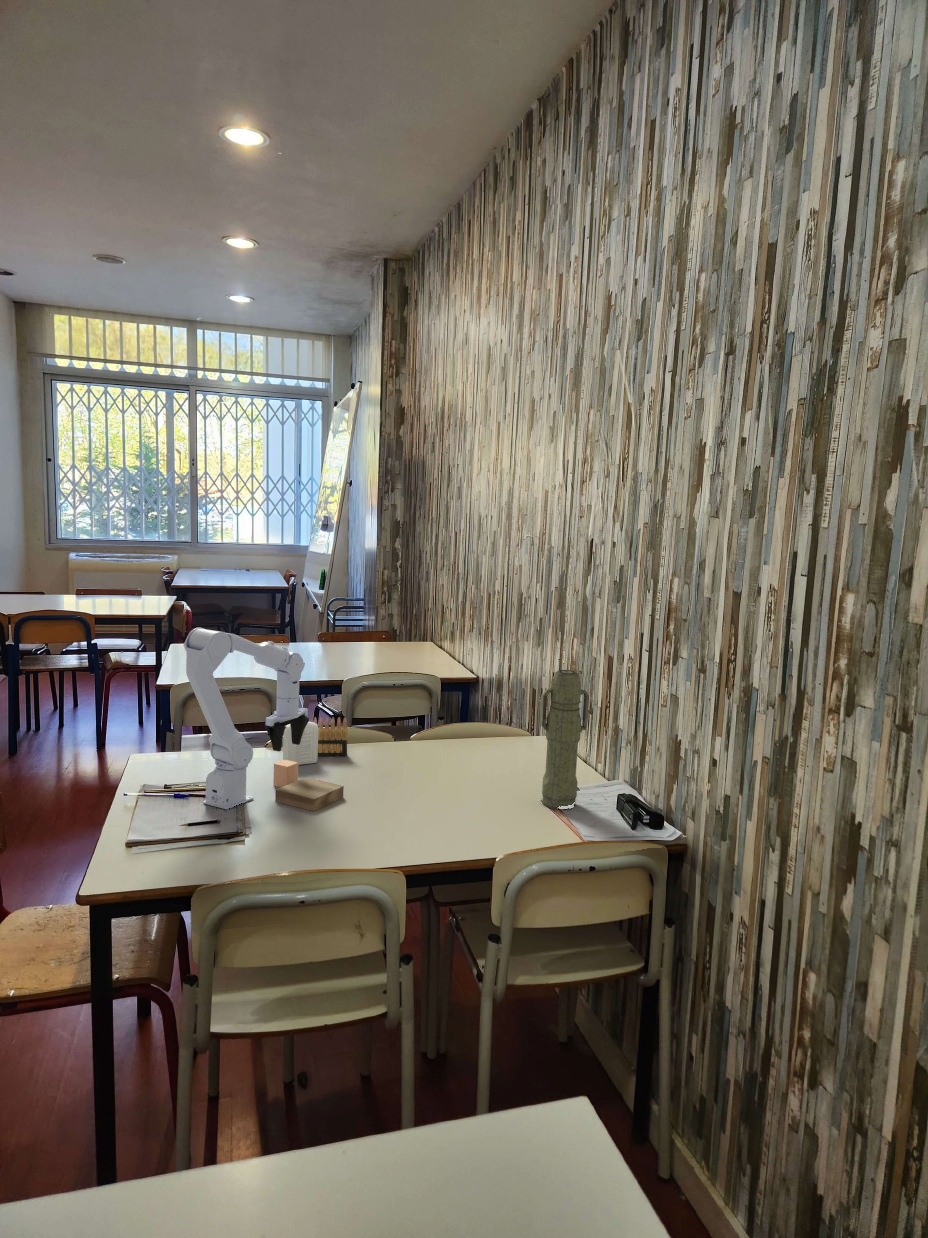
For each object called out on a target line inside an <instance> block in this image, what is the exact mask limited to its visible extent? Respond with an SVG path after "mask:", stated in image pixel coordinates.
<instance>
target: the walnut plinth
mask: <svg viewBox="0 0 928 1238" xmlns="http://www.w3.org/2000/svg"><path fill="white" fill-rule="evenodd" d="M274 793H275V797H274V800H275V802H276V803H277V802H278V803H281V804H285V805H289V806H292V807H297V808H299V809H305V810H308V811H310V812H311V811H312V812H316V811H317V810H319V809H321V808H324V807H325V806H328V805H330V804H332V803H334V802H336V801H338V800H340V799H342V798H344V785H341V784H337V783H333V782H328V781H323V780H320V779H315V778H312V777H307V776H306V777H304V778H301V779H298V781H296V782H293V783H291V784H288V785H286V786H283V787H277V788H276V789H275V792H274Z"/></svg>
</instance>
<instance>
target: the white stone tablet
mask: <svg viewBox="0 0 928 1238" xmlns="http://www.w3.org/2000/svg"><path fill="white" fill-rule="evenodd" d="M285 727H286V728H285V731H284V734H283V739H282V761H283V760H289V761H293V762H298V766H301V765H309V764H316V763H317V762H318V758H319V757H318V731H319V724H318V723H317V724H316V723H314V722H313V721H309V722H308V723H307V725H306V727H305V729H304V732H303V735H302V738H301V742H300V744H299V745H296V744H292V738H291V726H290V723H289V724H287V725H286V724H285Z"/></svg>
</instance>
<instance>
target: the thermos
mask: <svg viewBox="0 0 928 1238" xmlns="http://www.w3.org/2000/svg"><path fill="white" fill-rule="evenodd" d="M549 694H550V702H551V703H550V705H549V711H548V712H547V710H548V708H547V707H548V695H549ZM541 695H542V696H541V697H542V699H541V716H540V717H541V718H540V726H541V727H542V728H543V729H544V730H545V732H546V733H545V739H546V741H547V742H546V743H547V745H546V758H545V759H546V760H545V772H544V775H543V777H542V787H541V794H542V799H541V804H542V805H543V806H544V807H545V808H548V809H551V810H556V809H557V807H559V806H560V807H561V806H568V805H572V804H573V803H574V802H575V803H576V798H577V794H578V780H577V776H576V775H577V763H578V750H579V749H578V748H579V742H580V740H581V734H582V733H583V731H586V730H587V725H588V717H589V716H588V715H589V701H590V695H589V694H588V692H587V691H586V690H585V689H582V681H581V677H580V673H579V672H577V671H575V670H570V669H560V670H559V669H558V670H557V671H555V672H554V675H553V677H552V680H551V687H550V688H547V689H545V690H544V691H543V693H542V694H541ZM581 695H583V703H582V704H583V705H582V707H583V709H582V717H581V714H580V711H581V708H580V703H581Z"/></svg>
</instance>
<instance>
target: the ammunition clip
mask: <svg viewBox="0 0 928 1238" xmlns="http://www.w3.org/2000/svg"><path fill="white" fill-rule="evenodd" d="M323 720H324V719H323V717H322V716H320V718H319V722H318V720H317V717H316V716H315V717H314V718H313V721H312V722H314V723H316V724H317V725H318V730H319V731H318V757H317V758H323V757H325V758H327V757H328V758H329V757H330V758H332V757H333V758H335V757H337V758H339V757H340V758H342V757H343V758H345V757H346V758H347V757H348V723H347V721H348V720H347V717H346V716H344V718H343V722H342V721H341V720H342V719H341V717H340V716H339V717H338V718H337V722H336V721H335V717H334V716H332V718H331V721H330V720H329V717H328V716H326V717H325V721H323Z"/></svg>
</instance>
